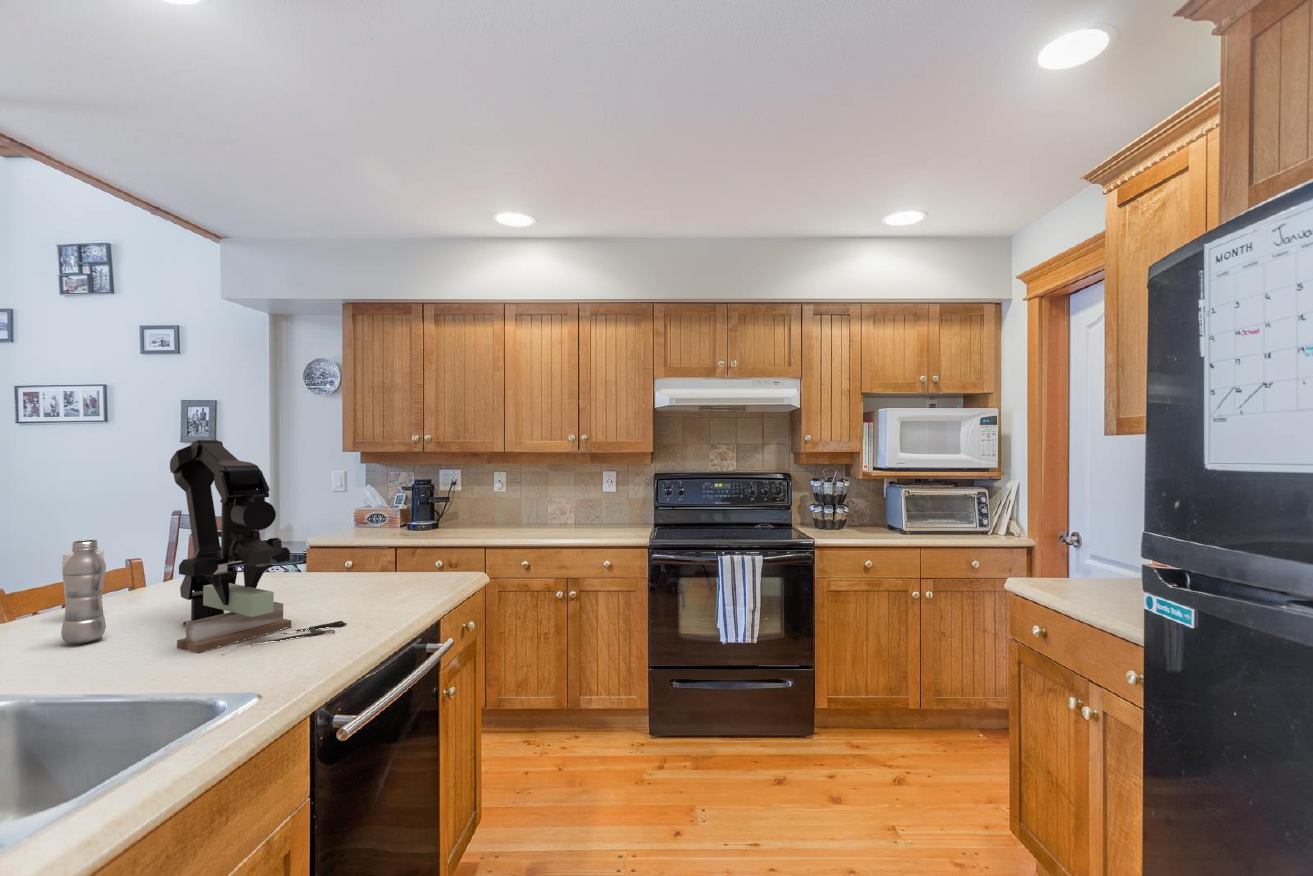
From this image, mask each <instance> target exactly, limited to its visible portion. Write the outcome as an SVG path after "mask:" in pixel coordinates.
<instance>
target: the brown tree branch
mask: <svg viewBox="0 0 1313 876" xmlns="http://www.w3.org/2000/svg"><path fill="white" fill-rule="evenodd" d="M345 625H348V623H347V622H344V621H342V620H338V621H334V622H330V623H322V624H318V625H314V626H313V625H312V626H309V627H308V628H302V629H301V628H300V629H295V631H297V632H296V633H299V632H298V631H301V630H303V631H302V632H305V630H306V629H307V630H308V629H309V630H311V631H310V632H309V630H308V631H306V633H302V634H296V635H292V636H286V637H280V638H276V639H275V638H274V639H270V640H268V641H269V642H270V641H277V642H281V641H280V640H285V641H287V640H286V639H290V638H296V637H302V636H309V637H314V635H315V636H320V635H321V636H326V635H330V634H334V633H335V632H336V631H335V630H334V629H327V628H326V627H339V628H343V627H344V626H345ZM319 628H326V630H325V629H319ZM316 629H318V630H316ZM307 632H309V633H307ZM318 634H319V635H318ZM296 639H297V638H296ZM251 646H252V645H251ZM252 647H253V646H252ZM223 654H224V653H223ZM223 654H221V655H223ZM223 656H224V655H223Z"/></svg>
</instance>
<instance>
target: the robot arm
mask: <svg viewBox="0 0 1313 876" xmlns="http://www.w3.org/2000/svg"><path fill="white" fill-rule="evenodd" d="M169 471H170V474H171V473H172V474H173V477H174V482H175V484H176V485H177V486H178V487H179V488H180V489H182V491H183V492H184V493H185V497H186V503H187V504H186V505H187V511H188V518H189V525H190V531H191V538H192V546H193V552H194V553H193V556H192V557H191V558H184V559H182V560H181V562H180V564H179V565H178V575H182V576H183V580H182V583H181V585H180V587H179V591H180V597H181V598H182V599H185V600H187V601H190V600H191V601H190V603H191V604H190V608H191V609H190V620H186V621H183V622H182V625H183V626H186V622H190V621H195V620H199V619H203V618H208V617H212V616H216V615H220V614H225V610H222V609H217V608H213V607H209V606H205V605H203V586H205V585H211V584H212V585H213V587H214V588H215V590H216V592H217V594H218V596H219V598H220V599H221V601H222V603H223V605H228V604H229V583H232V584H237V583H236V582H237V575H238V571H237V569H236V567H235V566H239V565H243V566H242V567H243V583H244V584H243V586H247V587H252V588H257V587H258V584H259V582H260V580H261V578H262V577H263V575H264V573H265V572H266V571H268V570H269V569H271V568H273V567H274V564H271V563H272V560H273V561H274V562H275V563H282V562H288V561H291V551H290V549H289V548H288V547H287V546H282V545H283V543H282V539H281V538H279V537H271V538H268V539H265V540H263V539H262V538H261V533H260V531H262V530H265V529H267V528H269V527H270V526H272V525H273V523H274V522H275V519H276V517H277V516H276V515H277V511H276V510H275V507H274V506H273V504H271V503H270V502H268V501H266V498H269V497H270V494H269V492H270V490H271V489H270V487H269V485H268V481H267V480H266V478H265V476H264V474H263V471H262V470H261V469H260V467H259V465H257V464H255V463H252V462H249V461H243V460H239V459H237V457H236V456H234V454H232V453H231V452H230V451H229V450H228V449H226V447H224V444H223V442H222V441H221V440H220V441H219V440H218V439H197V440H194V441H192V442H191V444H190V445H188V446H186V447H185V446H184V447H183V448H180V449H178V450H176V451H175V453H174V454H173V456H172V457H171V458H170V461H169ZM213 484H214V486H215V489H216V491H217V492H218V494H219V496H220V498H221V499H220V501H219V502H220V504H221V522H220V523H221V525H220V526H221V529H220V530H218V525H217V524H218V523H217V517H216V511H215V504H214V498H213V497H214V496H213V492H212V491H213V490H212V485H213Z"/></svg>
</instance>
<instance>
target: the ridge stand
mask: <svg viewBox="0 0 1313 876" xmlns="http://www.w3.org/2000/svg"><path fill="white" fill-rule="evenodd" d="M189 621H190V622H186V621H185V622H186V625H185V637H183V638H179V639H177V640H176V648H177V647H178V648H177V649H179V648H181V649H180V650H183V649H184V651H187V650H190V651H189V652H191V651H194V652H193V653H195V652H196V654H200V653H199V652H201V653H203V652H202V651H204V652H206V651H205V650H208V651H210V649H211V650H213V649H212V648H215V649H217V648H216V647H218V646H222V647H225V645H226V646H228V645H227V644H229V645H231V644H230V643H233V642H236V641H240V642H243V641H242V640H244V639H247V640H249V639H248V638H251V637H254V636H258V637H259V636H260V635H262V636H264V635H263V634H265V635H267V634H266V633H269V632H272V633H275V632H274V631H276V632H278V631H277V630H280V629H283V628H285V627H290V628H292V619H288V618H284V603H283V602H278V601H274V608H273V612H271V613H267V614H262V615H258V616H254V617H251V616H247V615H242V614H238V613H234V612H230V611H228V612H226V613H225V612H224V614H220V615H216V616H212V617H208V618H203V619H199V620H195V621H191V620H189ZM283 630H284V629H283ZM280 631H281V630H280ZM269 634H270V633H269ZM260 637H261V636H260ZM254 638H255V637H254ZM251 639H252V638H251ZM244 641H245V640H244ZM233 644H234V643H233Z"/></svg>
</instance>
